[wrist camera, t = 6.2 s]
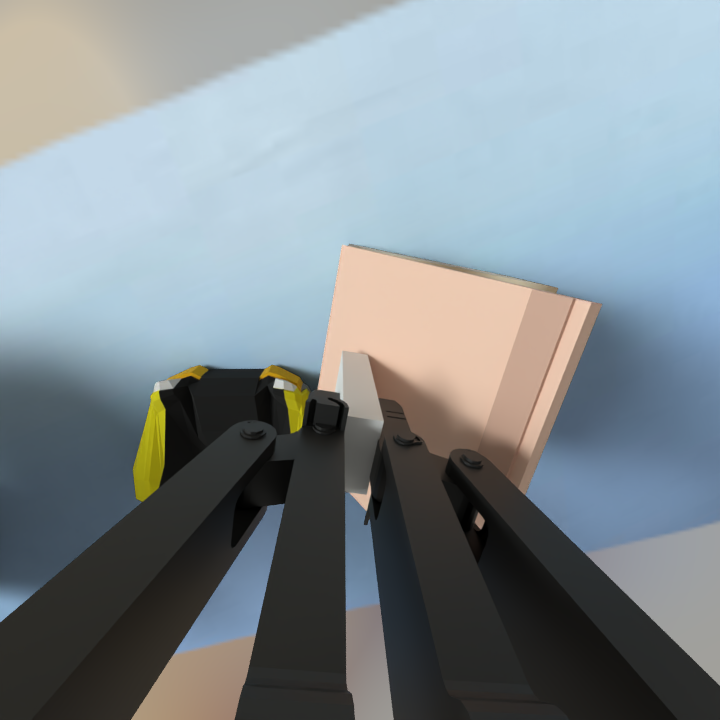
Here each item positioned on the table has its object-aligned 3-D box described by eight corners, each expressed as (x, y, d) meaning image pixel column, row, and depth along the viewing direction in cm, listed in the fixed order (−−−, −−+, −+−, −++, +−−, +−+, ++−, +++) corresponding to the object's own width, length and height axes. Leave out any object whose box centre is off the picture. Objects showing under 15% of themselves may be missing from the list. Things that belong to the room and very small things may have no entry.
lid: (318, 444, 23) (304, 448, 22) (354, 247, 19) (338, 244, 18) (479, 609, 14) (463, 622, 13) (602, 304, 10) (588, 302, 10)
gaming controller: (334, 467, 32) (332, 361, 29) (331, 512, 27) (328, 388, 24) (163, 469, 32) (142, 362, 29) (127, 515, 27) (96, 389, 23)
